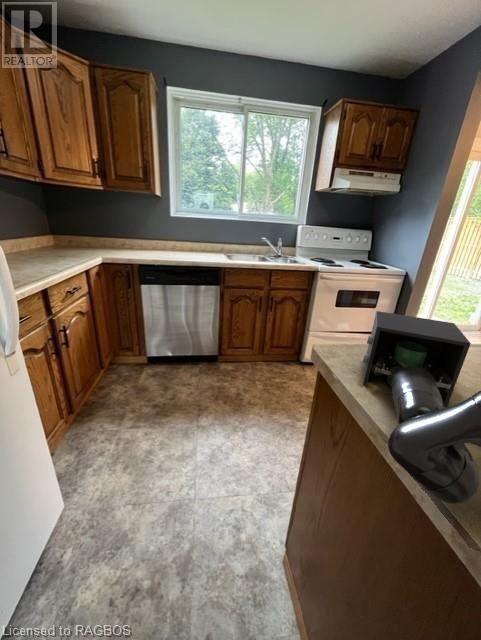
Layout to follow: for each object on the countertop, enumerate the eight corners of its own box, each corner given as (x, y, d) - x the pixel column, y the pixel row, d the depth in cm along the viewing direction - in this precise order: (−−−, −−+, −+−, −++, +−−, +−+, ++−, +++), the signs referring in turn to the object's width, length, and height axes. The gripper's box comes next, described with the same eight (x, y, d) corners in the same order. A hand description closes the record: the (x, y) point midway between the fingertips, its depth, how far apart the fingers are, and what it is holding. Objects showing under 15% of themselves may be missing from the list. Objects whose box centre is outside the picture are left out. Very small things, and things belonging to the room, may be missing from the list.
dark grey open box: (435, 377, 68) (454, 323, 63) (447, 406, 57) (471, 343, 52) (360, 360, 75) (372, 310, 70) (358, 383, 64) (371, 325, 59)
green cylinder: (414, 381, 66) (425, 344, 63) (417, 394, 61) (430, 355, 58) (386, 374, 69) (395, 338, 65) (387, 386, 63) (397, 348, 60)
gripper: (469, 388, 47) (447, 350, 61) (377, 367, 52) (376, 336, 66) (455, 423, 49) (437, 379, 63) (369, 399, 55) (370, 363, 69)
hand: (406, 357), depth 65 cm, fingers closed on green cylinder, 6 cm apart
